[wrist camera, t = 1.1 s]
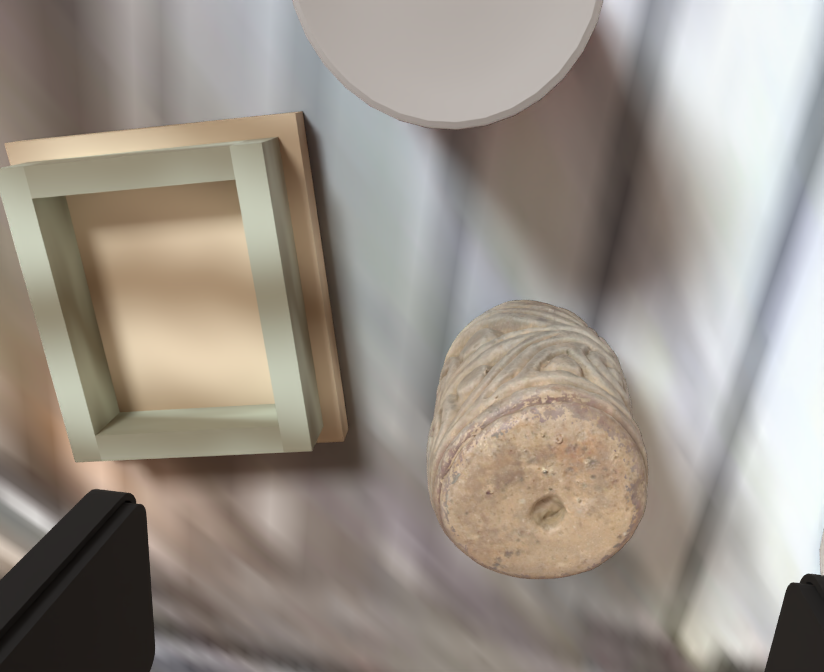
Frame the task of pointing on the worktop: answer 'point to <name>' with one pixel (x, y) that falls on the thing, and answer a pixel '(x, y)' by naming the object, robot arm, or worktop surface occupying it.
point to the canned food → (449, 53)
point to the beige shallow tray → (179, 287)
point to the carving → (535, 444)
